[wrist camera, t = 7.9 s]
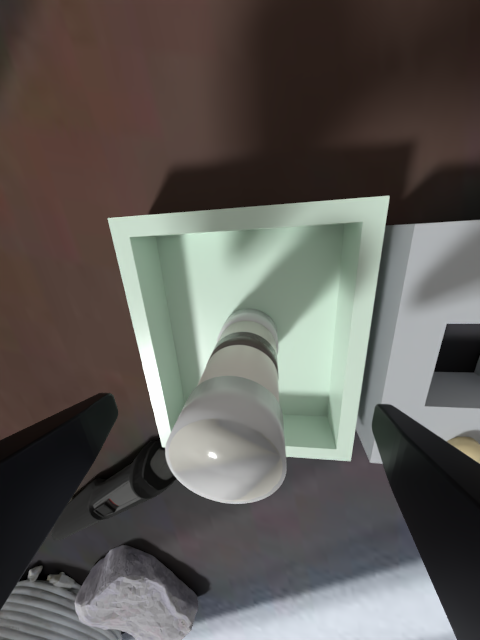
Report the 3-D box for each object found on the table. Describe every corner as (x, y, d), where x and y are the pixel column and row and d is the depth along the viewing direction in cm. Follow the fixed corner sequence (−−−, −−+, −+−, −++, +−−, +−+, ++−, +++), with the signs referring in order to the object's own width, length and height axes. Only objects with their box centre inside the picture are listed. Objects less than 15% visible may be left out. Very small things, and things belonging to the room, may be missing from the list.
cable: (42, 553, 29) (-14, 631, 23) (152, 619, 31) (126, 703, 26) (-3, 589, 35) (-55, 657, 29) (93, 642, 37) (62, 714, 32)
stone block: (133, 517, 26) (85, 568, 28) (112, 572, 22) (55, 629, 23) (215, 564, 28) (166, 608, 30) (211, 623, 24) (153, 672, 25)
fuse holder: (578, 213, 10) (730, 204, 7) (490, 427, 14) (557, 487, 11) (379, 225, 11) (425, 223, 8) (352, 420, 15) (374, 473, 12)
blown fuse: (277, 307, 13) (287, 418, 5) (277, 358, 14) (285, 508, 6) (220, 309, 13) (154, 412, 6) (225, 358, 14) (175, 497, 7)
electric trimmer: (63, 492, 24) (34, 529, 21) (158, 431, 19) (137, 469, 16) (91, 513, 25) (67, 552, 22) (191, 460, 19) (176, 502, 16)
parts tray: (360, 204, 11) (389, 195, 8) (336, 420, 15) (350, 461, 13) (144, 221, 13) (107, 218, 10) (180, 412, 17) (162, 447, 14)
